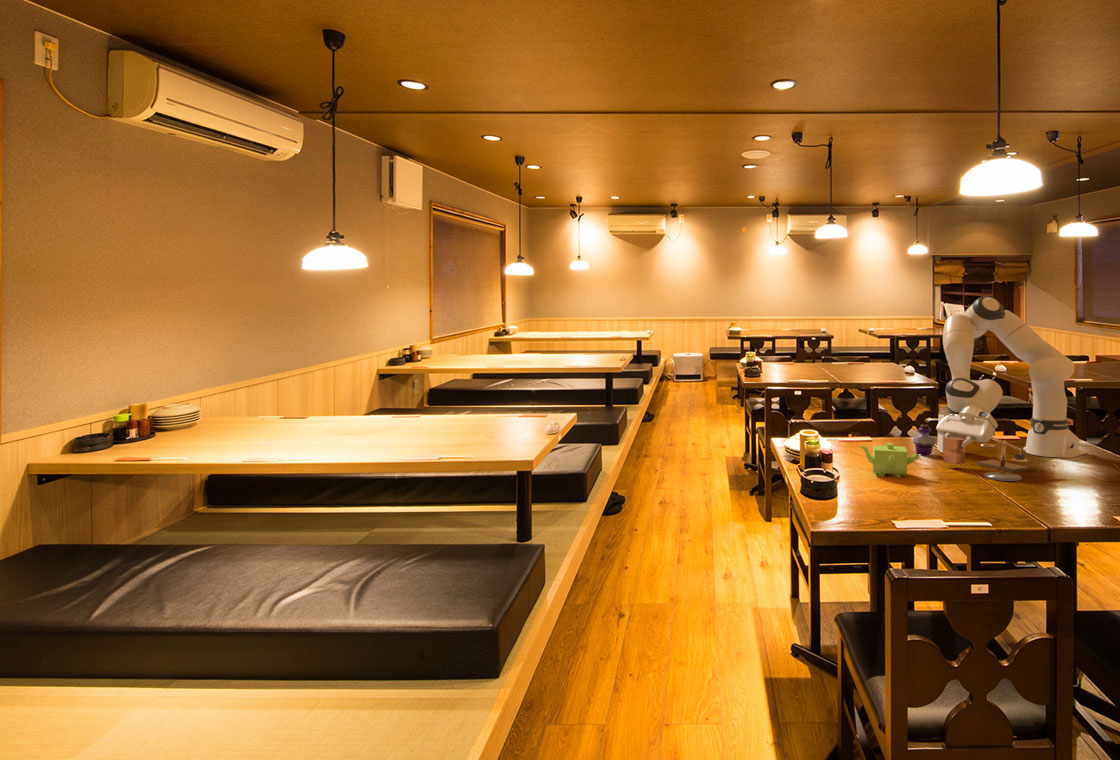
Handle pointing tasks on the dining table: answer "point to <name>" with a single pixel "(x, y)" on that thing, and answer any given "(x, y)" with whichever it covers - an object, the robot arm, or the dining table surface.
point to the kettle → (889, 459)
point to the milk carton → (942, 414)
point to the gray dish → (1002, 476)
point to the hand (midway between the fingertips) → (953, 445)
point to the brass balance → (1002, 463)
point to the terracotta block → (954, 450)
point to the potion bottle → (924, 441)
